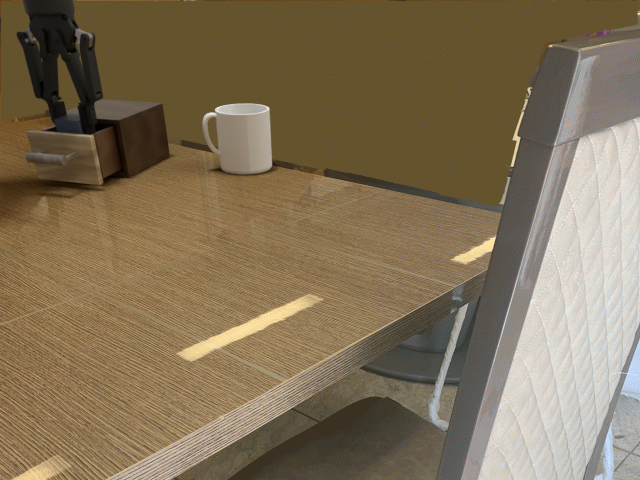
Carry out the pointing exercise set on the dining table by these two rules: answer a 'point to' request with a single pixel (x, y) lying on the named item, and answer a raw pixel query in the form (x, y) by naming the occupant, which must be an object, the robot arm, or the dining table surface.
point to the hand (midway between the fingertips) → (79, 143)
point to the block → (69, 124)
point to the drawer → (75, 154)
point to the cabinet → (134, 132)
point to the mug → (242, 138)
